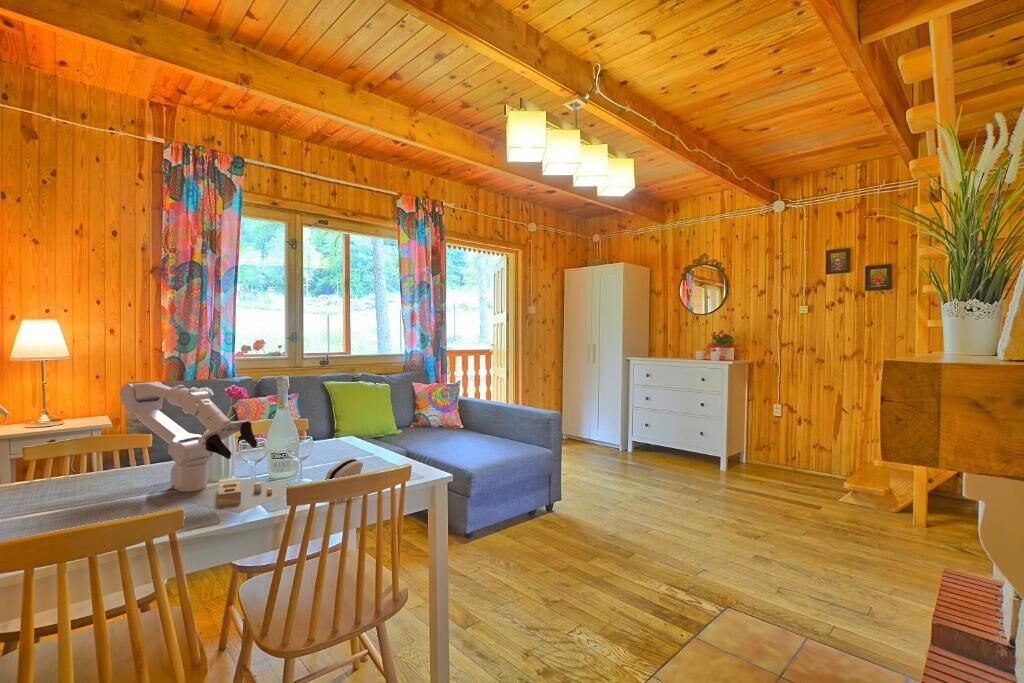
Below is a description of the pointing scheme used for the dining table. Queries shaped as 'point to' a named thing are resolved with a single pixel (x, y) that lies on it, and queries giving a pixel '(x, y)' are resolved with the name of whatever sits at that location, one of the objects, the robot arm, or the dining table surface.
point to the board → (242, 496)
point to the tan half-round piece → (345, 469)
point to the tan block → (229, 491)
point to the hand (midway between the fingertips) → (243, 450)
